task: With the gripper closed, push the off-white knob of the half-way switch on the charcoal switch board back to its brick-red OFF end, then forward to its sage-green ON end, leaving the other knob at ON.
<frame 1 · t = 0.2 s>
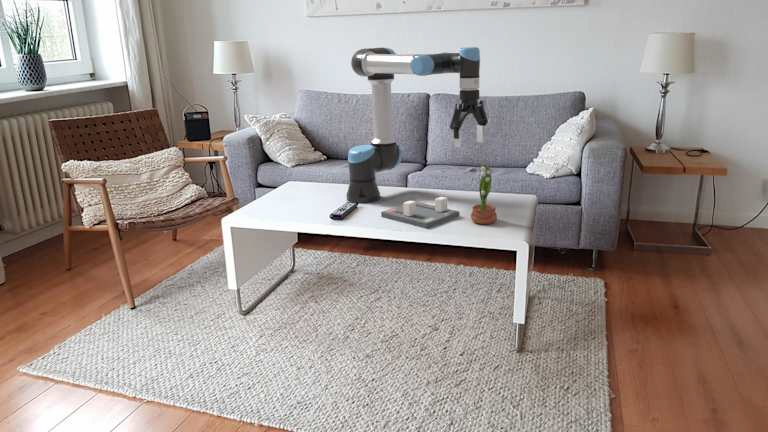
hand: (469, 144, 228), 28 cm above the table, tool pointing down, fingers open, 13 cm apart
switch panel: (420, 216, 232), on the table
tripped switch knob: (409, 208, 227), point 5 cm above the table, slide at 6.0 cm
potted flower: (483, 222, 222), on the table
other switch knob: (441, 204, 231), point 5 cm above the table, slide at 12.0 cm
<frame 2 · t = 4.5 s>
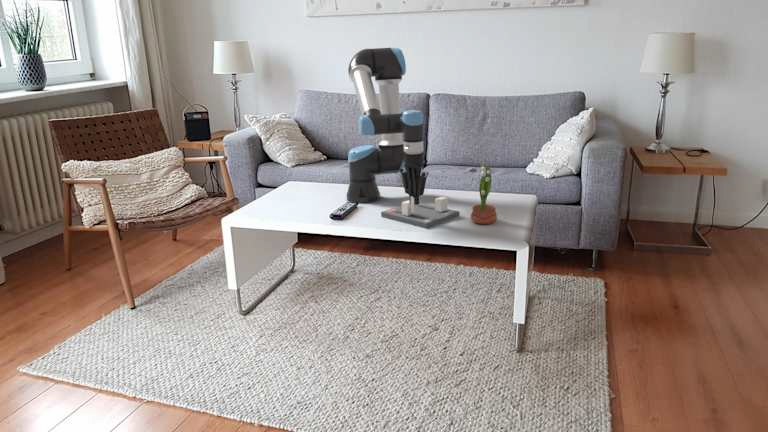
hand: (414, 212, 226), 4 cm above the table, tool pointing down, fingers closed
tripped switch knob: (408, 208, 228), point 5 cm above the table, slide at 5.2 cm, touching gripper
everything else where it was.
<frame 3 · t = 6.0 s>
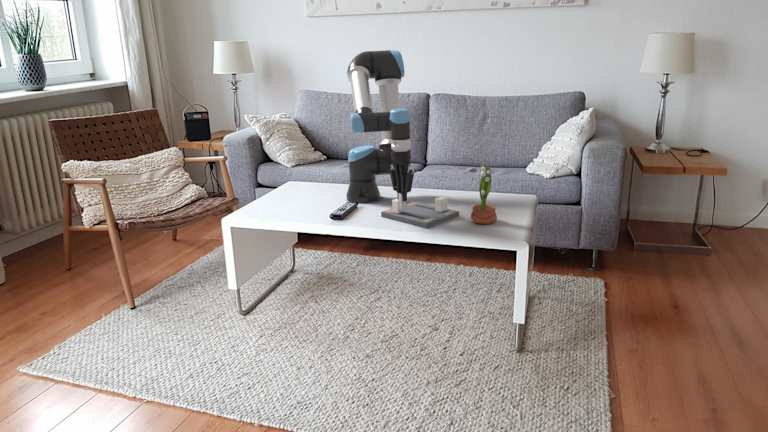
hand: (402, 208, 230), 4 cm above the table, tool pointing down, fingers closed
tripped switch knob: (398, 205, 231), point 5 cm above the table, slide at -0.1 cm
everything else where it was.
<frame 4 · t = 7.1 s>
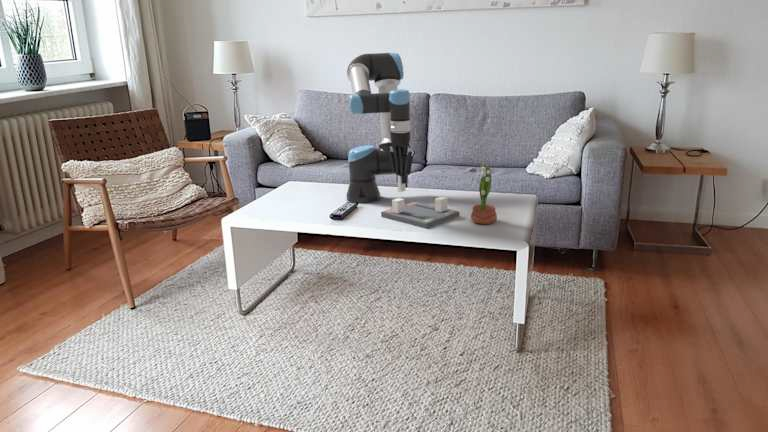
hand: (401, 190, 228), 11 cm above the table, tool pointing down, fingers closed
nothing on the table moved.
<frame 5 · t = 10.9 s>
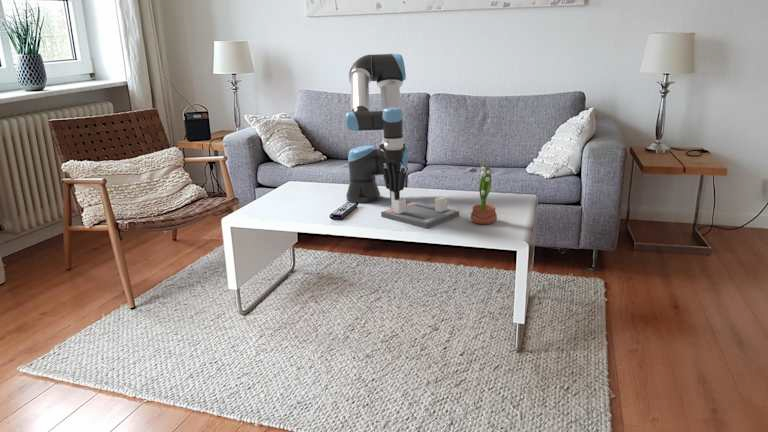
hand: (395, 206, 232), 4 cm above the table, tool pointing down, fingers closed
tripped switch knob: (399, 205, 231), point 5 cm above the table, slide at 0.6 cm, touching gripper
everything else where it was.
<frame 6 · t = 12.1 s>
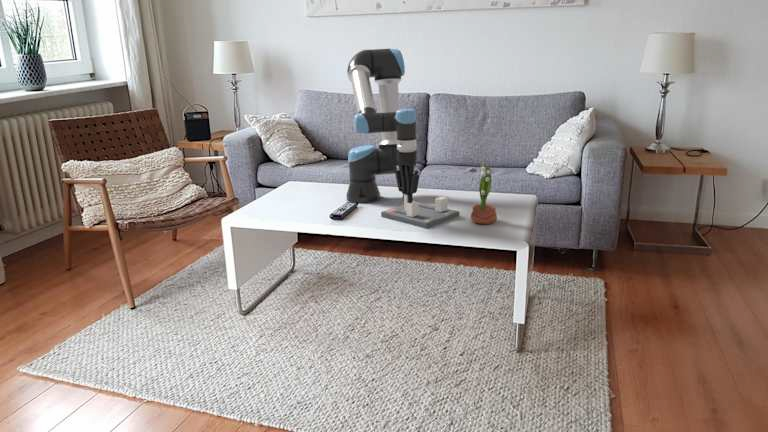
hand: (408, 209, 227), 4 cm above the table, tool pointing down, fingers closed
tripped switch knob: (412, 209, 226), point 5 cm above the table, slide at 7.5 cm, touching gripper
everything else where it was.
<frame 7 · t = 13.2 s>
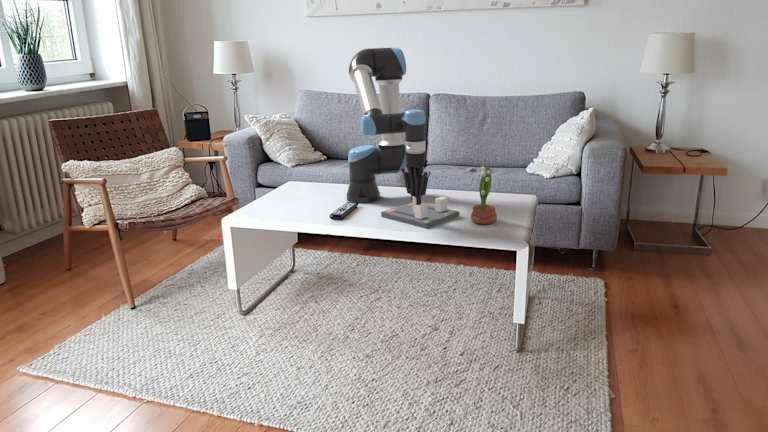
hand: (416, 212, 225), 4 cm above the table, tool pointing down, fingers closed
tripped switch knob: (421, 211, 223), point 5 cm above the table, slide at 11.9 cm, touching gripper
everything else where it was.
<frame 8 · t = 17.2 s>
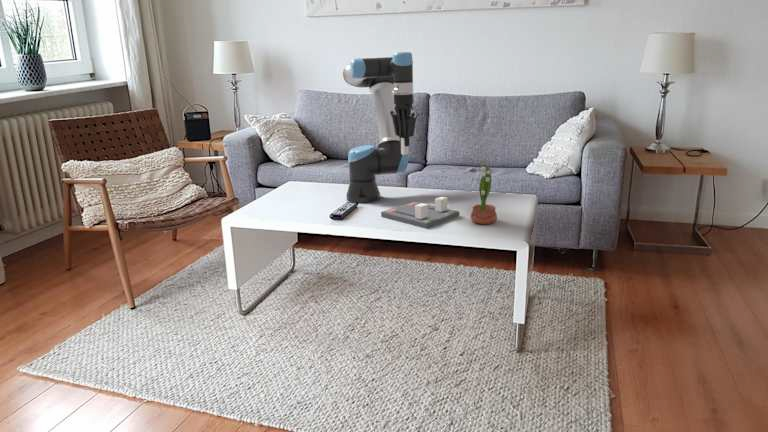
hand: (404, 153, 231), 24 cm above the table, tool pointing down, fingers closed
tripped switch knob: (421, 211, 223), point 5 cm above the table, slide at 12.1 cm
everything else where it was.
at the end: tripped switch knob slide at 12.1 cm; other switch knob slide at 12.0 cm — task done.
